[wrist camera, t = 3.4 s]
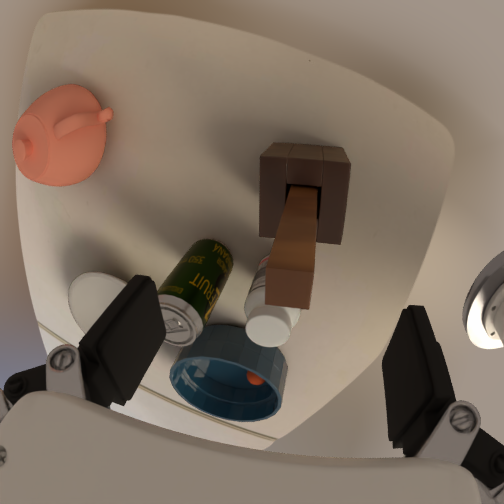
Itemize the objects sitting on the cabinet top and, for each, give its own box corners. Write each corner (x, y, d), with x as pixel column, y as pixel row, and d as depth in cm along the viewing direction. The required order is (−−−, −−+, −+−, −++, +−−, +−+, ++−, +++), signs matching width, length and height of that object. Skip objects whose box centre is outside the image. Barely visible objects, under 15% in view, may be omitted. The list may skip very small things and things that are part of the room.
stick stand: (343, 147, 26) (351, 163, 20) (336, 212, 29) (340, 245, 23) (273, 142, 27) (259, 155, 21) (271, 206, 30) (258, 237, 24)
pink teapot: (43, 105, 29) (-16, 120, 20) (117, 61, 25) (50, 61, 16) (64, 185, 34) (10, 216, 26) (140, 160, 30) (80, 190, 22)
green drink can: (207, 281, 37) (167, 352, 26) (182, 246, 35) (131, 310, 25) (243, 267, 34) (211, 342, 24) (219, 228, 33) (173, 294, 22)
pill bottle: (297, 296, 35) (287, 358, 27) (253, 283, 35) (232, 343, 27) (311, 258, 32) (305, 319, 24) (263, 245, 32) (242, 301, 24)
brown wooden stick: (317, 168, 27) (314, 272, 12) (316, 188, 28) (309, 310, 13) (296, 166, 28) (265, 267, 12) (295, 186, 29) (264, 304, 13)
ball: (269, 362, 41) (265, 378, 38) (268, 374, 42) (265, 390, 40) (249, 359, 42) (244, 375, 39) (249, 371, 43) (244, 387, 40)
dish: (119, 231, 36) (97, 250, 32) (192, 310, 40) (178, 335, 35) (73, 285, 44) (56, 303, 40) (130, 344, 48) (117, 364, 43)
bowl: (292, 330, 38) (286, 368, 32) (283, 396, 46) (277, 428, 40) (177, 313, 41) (158, 345, 35) (193, 380, 49) (180, 408, 43)
